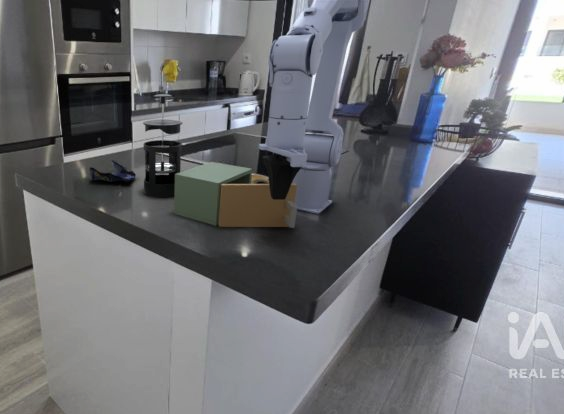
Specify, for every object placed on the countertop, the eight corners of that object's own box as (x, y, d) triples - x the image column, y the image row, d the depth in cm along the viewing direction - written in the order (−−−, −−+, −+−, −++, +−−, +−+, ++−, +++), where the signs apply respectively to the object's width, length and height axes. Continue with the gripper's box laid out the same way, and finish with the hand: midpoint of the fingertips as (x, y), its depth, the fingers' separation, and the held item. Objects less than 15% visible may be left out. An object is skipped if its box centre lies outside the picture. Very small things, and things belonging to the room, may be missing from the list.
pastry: (234, 183, 99) (236, 169, 98) (260, 182, 100) (261, 168, 99) (247, 194, 91) (248, 179, 89) (274, 193, 91) (276, 178, 90)
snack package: (111, 173, 110) (82, 181, 102) (113, 152, 108) (84, 158, 99) (143, 187, 104) (115, 197, 95) (147, 165, 102) (118, 173, 93)
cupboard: (248, 207, 83) (252, 168, 80) (215, 226, 73) (218, 183, 70) (209, 197, 89) (211, 161, 86) (174, 214, 79) (174, 174, 76)
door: (298, 234, 69) (304, 190, 66) (222, 234, 69) (225, 191, 66) (290, 225, 73) (295, 183, 70) (218, 225, 73) (221, 183, 70)
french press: (167, 202, 86) (168, 96, 78) (133, 194, 91) (131, 95, 83) (191, 189, 95) (195, 93, 87) (160, 183, 100) (160, 92, 92)
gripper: (251, 112, 67) (244, 186, 72) (276, 123, 54) (266, 213, 58) (291, 112, 67) (282, 185, 72) (326, 123, 54) (312, 213, 58)
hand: (278, 198), depth 65 cm, fingers closed
